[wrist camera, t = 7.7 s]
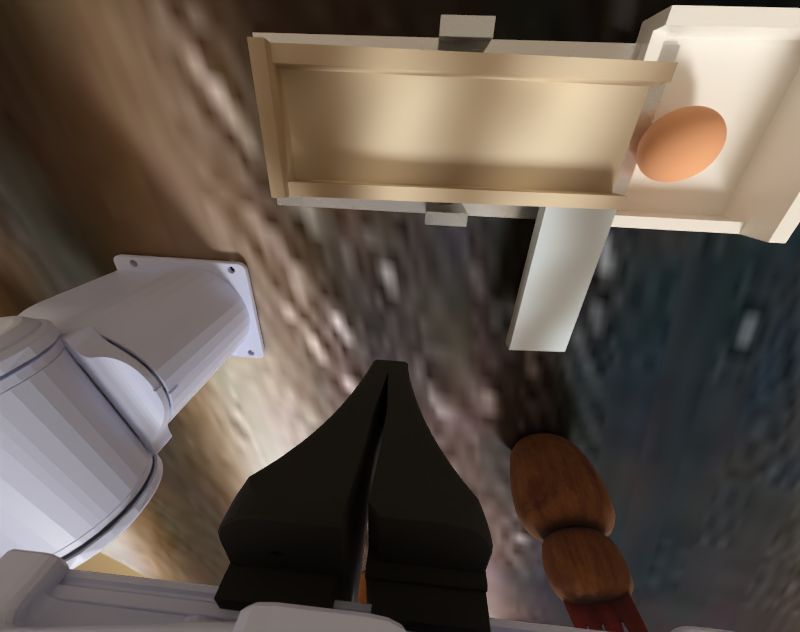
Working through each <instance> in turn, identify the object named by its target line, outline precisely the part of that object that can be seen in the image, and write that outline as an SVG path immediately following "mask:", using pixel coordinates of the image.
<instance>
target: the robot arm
mask: <svg viewBox="0 0 800 632" xmlns="http://www.w3.org/2000/svg"><path fill="white" fill-rule="evenodd" d="M113 260H114V263H115V266H116V268H117V271H114V272H112V273H110V274H107V275H105V276H102V277H100V278H97V279H95V280H93V281H90V282H88V283H85V284H83V285H80V286H78V287H75V288H73V289H71V290H68V291H66V292H63V293H61V294H58V295H56V296H54V297H51V298H49V299H46V300H44V301H41V302H39V303H37V304H34V305H33V306H31V307H29V308H27V309H26V310H24V311H23V312H21V313H20V314H19V315H18V316H7V317H0V632H607V631H598V630H589V629H581V628H572V627H564V626H555V625H546V624H538V623H529V622H521V621H512V620H503V619H495V618H489V613H488V605H487V597H486V592H487V578H486V571H485V570H486V568H487V565H488V562H489V560H490V557H491V554H492V548H493V544H492V539H491V535H490V531H489V527H488V524H487V521H486V518H485V515H484V512H483V510H482V507H481V505H480V502H479V500H478V498H477V497H476V496H475V495H474V494H473V492H472V491H471V490H470V489H469V488H468V486H467V485H466V484H465V483H464V482H463V480H462V479H461V478H460V476H459V475H458V474H457V472H456V471H455V470H454V468H453V467H452V466H451V464H450V463H449V461H448V460H447V458H446V457H445V455H444V454H443V452H442V451H441V449H440V448H439V446H438V444H437V443H436V441H435V439H434V437H433V436H432V434H431V432H430V430H429V428H428V426H427V424H426V422H425V420H424V418H423V416H422V413H421V411H420V409H419V406H418V404H417V401H416V398H415V395H414V392H413V389H412V386H411V382H410V378H409V372H408V364H407V363H406V362H401V361H388V360H375V361H374V362H373V363H372V365H371V367H370V369H369V370H368V372H367V373H366V375H365V376H364V378H363V379H362V381H361V382H360V383H359V385H358V386H357V387H356V389H355V390H354V391H353V393H352V394H351V395H350V396H349V397H348V398H347V400H346V401H345V402H344V403H343V404H342V405H341V407H340V408H339V409H338V410H337V411H336V412H335V413H334V414H333V415H332V416H331V417H330V418H329V419H328V420H327V421H326V422H325V423H324V424H323V425H322V426H320V427H319V428H318V429H317V430H316V431H315V432H314V433H312V434H311V435H310V436H309V437H308V438H306V439H305V440H304V441H303V442H301V443H300V444H299V445H297V446H296V447H294V448H293V449H292V450H290V451H289V452H288V453H286V454H285V455H284V456H282V457H281V458H279V459H278V460H276V461H275V462H273V463H271V464H270V465H268V466H266V467H265V468H263V469H262V470H260V471H258V472H257V473H255V474H253V475H252V476H250V477H249V478H248V479H247V481H246V482H245V484H244V485H243V487H242V488H241V489H240V491H239V492H238V494H237V495H236V497H235V499H234V500H233V502H232V504H231V506H230V508H229V510H228V511H227V513H226V515H225V517H224V519H223V521H222V523H221V524H220V527H219V530H218V533H219V537H220V541H221V543H222V545H223V547H224V549H225V552H226V554H227V556H228V558H229V560H230V562H231V563H230V565H229V567H228V569H227V571H226V573H225V575H224V577H223V580H222V582H221V584H220V586H211V585H202V584H194V583H185V582H177V581H168V580H159V579H151V578H141V577H134V576H124V575H116V574H108V573H99V572H91V571H81V570H73V569H74V568H75V567H77V566H79V565H80V564H82V563H84V562H85V561H87V560H88V559H90V558H91V557H92V556H94V555H96V554H97V553H98V552H100V551H101V550H103V549H104V548H105V547H107V546H108V545H109V544H110V543H112V542H113V541H114V540H115V539H116V538H117V537H118V536H120V535H121V534H122V533H123V532H124V531H125V530H126V529H127V528H128V527H129V526H130V525H131V524H132V523H133V521H134V520H135V519H136V518H137V517H138V515H139V514H140V513H141V512H142V510H143V509H144V508H145V507H146V505H147V504H148V503H149V501H150V499H151V498H152V496H153V495H154V493H155V491H156V489H157V487H158V485H159V483H160V480H161V477H162V472H163V466H162V461H161V459H160V457H159V456H158V455H157V453H158V452H159V451H160V450H161V449H162V448H163V447H164V445H165V444H166V443H167V442H168V441H169V440H170V438H171V437H172V435H171V433H170V431H169V429H168V423H169V422H170V421H171V420H172V419H173V418H174V417H175V416H176V415H177V413H178V412H179V411H180V410H181V409H182V408H183V407H184V406H185V405H186V404H187V403H188V401H189V400H190V399H191V398H192V397H193V396H194V395H195V394H196V393H197V392H198V391H199V390H200V388H201V387H202V386H203V385H204V384H205V383H206V382H207V381H208V380H209V379H210V378H211V377H212V375H213V374H214V373H215V372H216V371H217V370H218V369H219V368H220V367H221V366H222V365H223V364H224V362H225V361H226V360H227V359H228V358H229V357H230V356H240V357H253V358H261V357H263V355H264V354H265V348H264V344H263V339H262V334H261V330H260V325H259V320H258V315H257V311H256V306H255V301H254V297H253V292H252V287H251V283H250V278H249V273H248V269H247V267H246V265H245V264H243V263H241V262H232V261H217V260H202V259H186V258H171V257H156V256H140V255H125V254H120V255H117V256H115V257H114V259H113ZM135 261H136V262H137V264H138V265H137V264H136V263H135ZM230 267H233V268H234V270H235V272H234V271H232V270H231V268H230ZM251 350H252V351H253V352H251ZM367 523H368V531H369V549H368V556H367V563H366V570H365V579H366V597H367V604H366V603H357V601H358V593H359V585H360V577H361V569H362V561H363V553H364V545H365V538H366V530H367ZM670 632H733V631H729V630H720V629H711V628H702V627H694V626H683V627H678V628H675V629H673V630H672V631H670Z"/></svg>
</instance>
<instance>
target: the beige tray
mask: <svg viewBox="0 0 800 632" xmlns="http://www.w3.org/2000/svg"><path fill="white" fill-rule="evenodd" d="M247 41H248V48H249V54H250V60H251V67H252V73H253V80H254V86H255V93H256V99H257V106H258V112H259V119H260V125H261V132H262V138H263V145H264V151H265V158H266V164H267V171H268V177H269V184H270V190H271V197H272V198H287V197H289V196H299V197H323V198H347V199H371V200H395V201H418V202H439V203H440V204H447V205H450V204H453V203H466V204H490V205H514V206H537V207H539V210H538V214H537V218H536V222H535V226H534V230H533V234H532V238H531V242H530V246H529V250H528V254H527V258H526V262H525V266H524V270H523V274H522V278H521V282H520V286H519V291H518V295H517V299H516V303H515V307H514V311H513V315H512V319H511V323H510V327H509V331H508V335H507V339H506V345H507V347H508V349H509V350H527V351H555V352H565V350H566V347H567V344H568V342H569V339H570V336H571V334H572V331H573V328H574V325H575V323H576V320H577V317H578V315H579V312H580V309H581V306H582V304H583V301H584V298H585V295H586V293H587V290H588V287H589V285H590V282H591V279H592V276H593V274H594V271H595V268H596V265H597V263H598V260H599V257H600V255H601V252H602V249H603V246H604V244H605V241H606V238H607V235H608V233H609V230H610V227H611V225H612V222H613V219H614V216H615V214H616V211H617V210H623V208H624V205H625V203H626V200H627V197H628V196H624V195H620V194H616V193H612V192H613V189H614V186H615V183H616V181H617V178H618V175H619V172H620V169H621V166H622V163H623V161H624V158H625V155H626V152H627V149H628V146H629V143H630V141H631V138H632V135H633V132H634V129H635V126H636V124H637V121H638V118H639V115H640V112H641V109H642V106H643V104H644V101H645V98H646V95H647V92H648V89H649V87H650V86H655V85H659V84H664V83H668V82H671V80H672V78H673V75H674V72H675V70H676V67H677V64H678V62H661V61H641V60H620V59H600V58H580V57H560V56H539V55H519V54H499V53H479V52H468V51H438V50H418V49H398V48H377V47H357V46H337V45H317V44H296V43H276V42H269V41H268V40H266V39H265V38H264V37H247Z"/></svg>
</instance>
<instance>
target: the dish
mask: <svg viewBox="0 0 800 632" xmlns="http://www.w3.org/2000/svg"><path fill="white" fill-rule="evenodd" d="M636 44H642V46H641V49H640V52H639V55H638V58H637V60H641V61H657V60H658V57H659V55H660V52H661V49H662V46H663V44H671V45H681V46H680V48H679V51H678V54H677V56H676V59H675V62H678V64H677V67H676V70H675V72H674V75H673V78H672V80H671V82H668V83H666V86H665V89H664V91H663V94H662V97H661V99H660V102H659V105H658V108H657V110H656V113H655V116H654V118H653V121H652V124H653V123H654V122H655V121H657V120H658V119H659V118H661V117H662V116H664V115H665V114H667V113H669V112H671V111H673V110H676V109H679V108H682V107H687V106H705V107H709V108H711V109H713V110H715V111H717V112H718V113H719V114H720V115H721V116H722V118H723V119H724V121H725V123H726V128H727V136H726V141H725V144H724V146H723V148H722V150H721V152H720V153H719V155H718V156H717V158H716V159H715V160H714V161H713V162H712V163H711V164H710V165H709V166H708V167H707V168H705V169H704V170H703V171H701V172H700V173H698V174H696V175H694V176H692V177H690V178H687V179H684V180H681V181H677V182H658V181H654V180H652V179H649V178H648V177H646V176H645V175H644V174H643V173H642V172H641V171H640V169H639V167H638V165H637V164H636V167H635V170H634V172H633V175H632V178H631V180H630V183H629V186H628V188H627V191H626V194H625V196H628V197H627V200H626V203H625V205H624V208H623V210H619V211H616V214H615V216H614V219H613V222H612V225H611V227H626V228H644V229H662V230H680V231H697V232H715V233H733V234H742V235H745V236H748V237H752V238H755V239H759V240H762V241H765V242H772V243H786V242H787V240H788V239H789V237H790V236H791V234H792V233H793V231H794V230H795V228H796V226H797V225H798V223H799V222H800V8H776V7H733V6H690V5H672V6H670V7H668V8H666V9H665V10H663V11H661V12H659V13H657V14H656V15H654V16H652V17H650V18H648V19H647V20H645V21H643V22H642V25H641V28H640V31H639V35H638V38H637V41H636ZM652 124H651V125H652Z"/></svg>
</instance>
